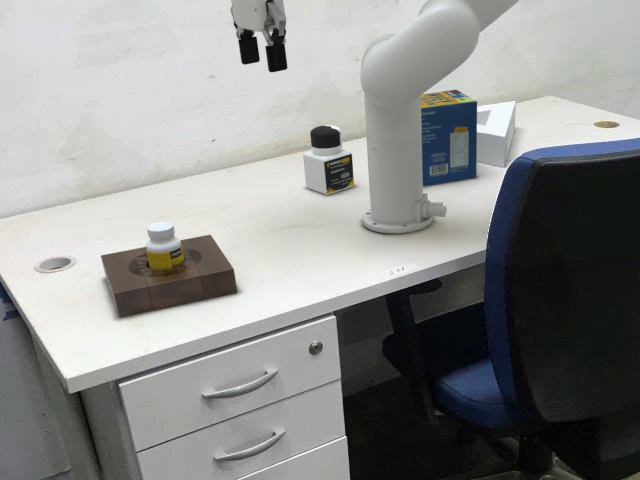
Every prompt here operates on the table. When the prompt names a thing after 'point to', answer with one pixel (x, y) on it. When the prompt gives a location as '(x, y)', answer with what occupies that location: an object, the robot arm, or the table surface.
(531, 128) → the table surface
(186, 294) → the holder block
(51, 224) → the table surface
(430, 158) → the protein box
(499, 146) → the triangle block
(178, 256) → the supplement bottle
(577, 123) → the table surface
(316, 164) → the medicine bottle
